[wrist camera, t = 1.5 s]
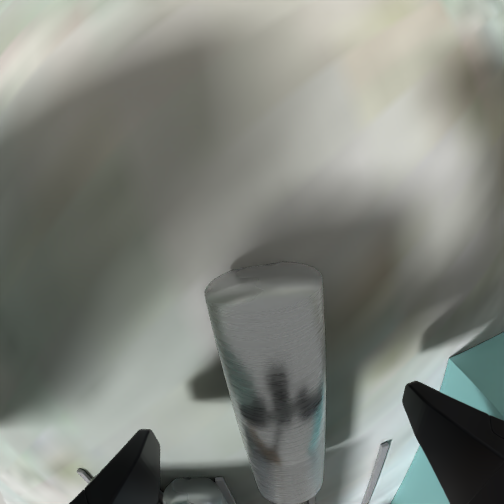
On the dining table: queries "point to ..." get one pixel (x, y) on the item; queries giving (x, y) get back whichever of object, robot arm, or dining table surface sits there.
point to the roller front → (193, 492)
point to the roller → (275, 372)
